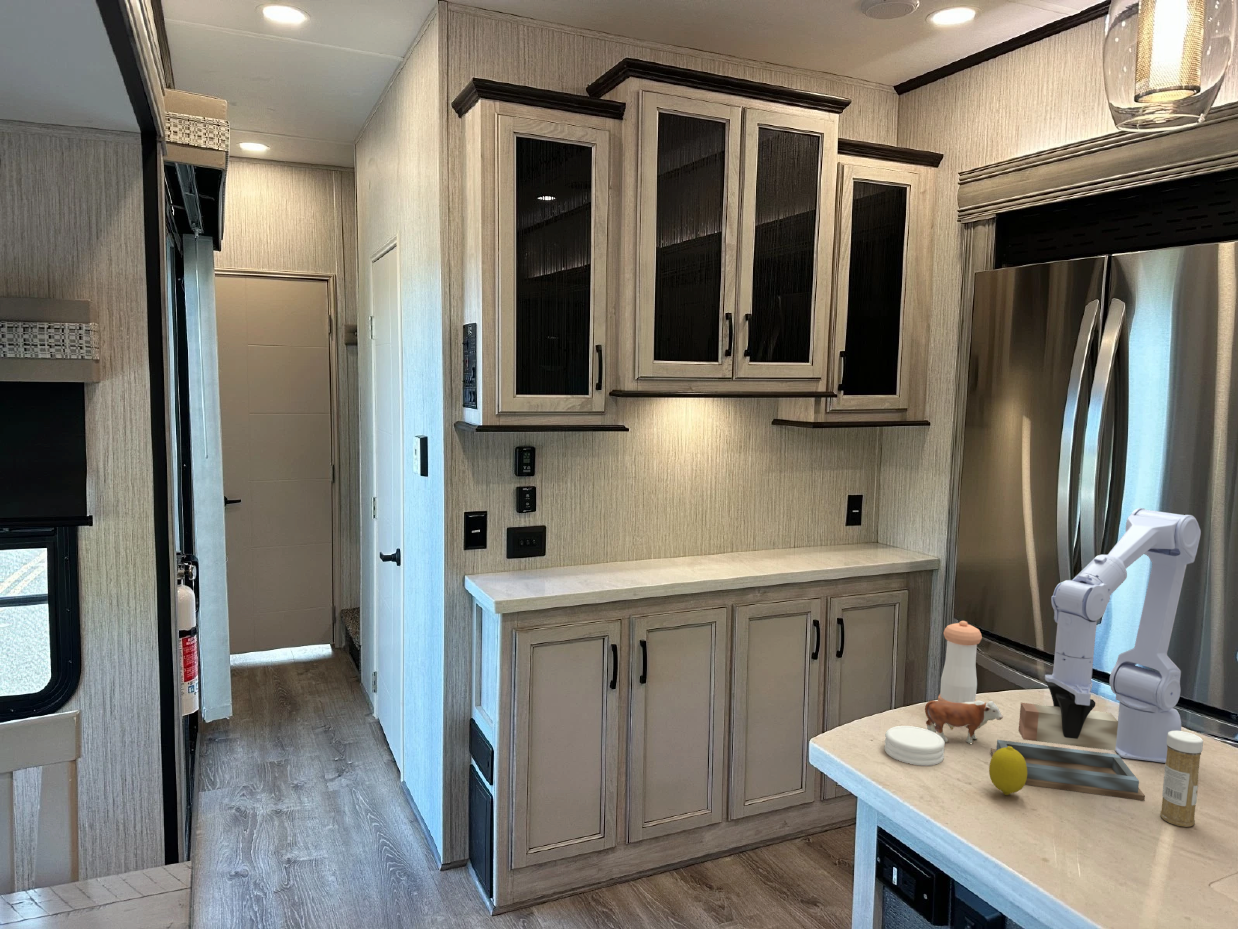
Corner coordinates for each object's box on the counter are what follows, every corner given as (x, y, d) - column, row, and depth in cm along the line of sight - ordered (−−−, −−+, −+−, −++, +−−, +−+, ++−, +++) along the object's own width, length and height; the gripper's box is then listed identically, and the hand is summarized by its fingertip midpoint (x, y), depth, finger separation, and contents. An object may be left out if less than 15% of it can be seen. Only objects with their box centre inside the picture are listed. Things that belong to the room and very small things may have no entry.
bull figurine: (1002, 750, 157) (1005, 706, 156) (923, 741, 160) (927, 698, 159) (996, 740, 161) (1000, 697, 160) (920, 732, 164) (923, 690, 163)
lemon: (1023, 790, 141) (1027, 743, 140) (1026, 806, 136) (1031, 756, 135) (986, 784, 143) (989, 737, 142) (988, 799, 137) (992, 750, 137)
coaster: (939, 772, 147) (940, 752, 147) (878, 758, 152) (880, 739, 151) (947, 751, 156) (948, 732, 156) (890, 739, 161) (891, 720, 160)
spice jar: (1202, 827, 131) (1211, 740, 130) (1176, 829, 130) (1185, 742, 129) (1176, 812, 136) (1184, 728, 134) (1151, 814, 135) (1160, 730, 133)
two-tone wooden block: (1107, 741, 147) (1110, 712, 147) (1115, 751, 143) (1118, 721, 143) (1018, 730, 150) (1020, 702, 150) (1023, 739, 146) (1025, 710, 146)
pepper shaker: (982, 723, 169) (989, 627, 167) (944, 722, 169) (951, 625, 167) (967, 709, 176) (974, 617, 175) (931, 708, 176) (938, 615, 175)
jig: (1120, 769, 151) (1121, 753, 150) (1144, 800, 139) (1146, 783, 139) (990, 752, 156) (991, 737, 155) (1003, 781, 144) (1004, 765, 144)
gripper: (1038, 638, 153) (1031, 713, 155) (1059, 663, 139) (1051, 745, 140) (1082, 643, 152) (1075, 718, 153) (1107, 668, 138) (1099, 751, 139)
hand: (1067, 732), depth 147 cm, fingers closed on two-tone wooden block, 4 cm apart
